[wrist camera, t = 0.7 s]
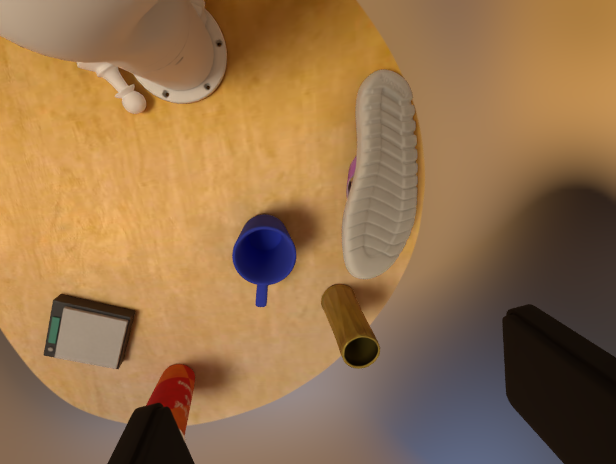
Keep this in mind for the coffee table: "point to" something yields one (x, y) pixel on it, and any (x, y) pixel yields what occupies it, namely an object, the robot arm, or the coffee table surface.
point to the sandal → (381, 176)
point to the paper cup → (175, 393)
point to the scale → (88, 331)
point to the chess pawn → (118, 85)
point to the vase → (350, 327)
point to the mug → (264, 254)
